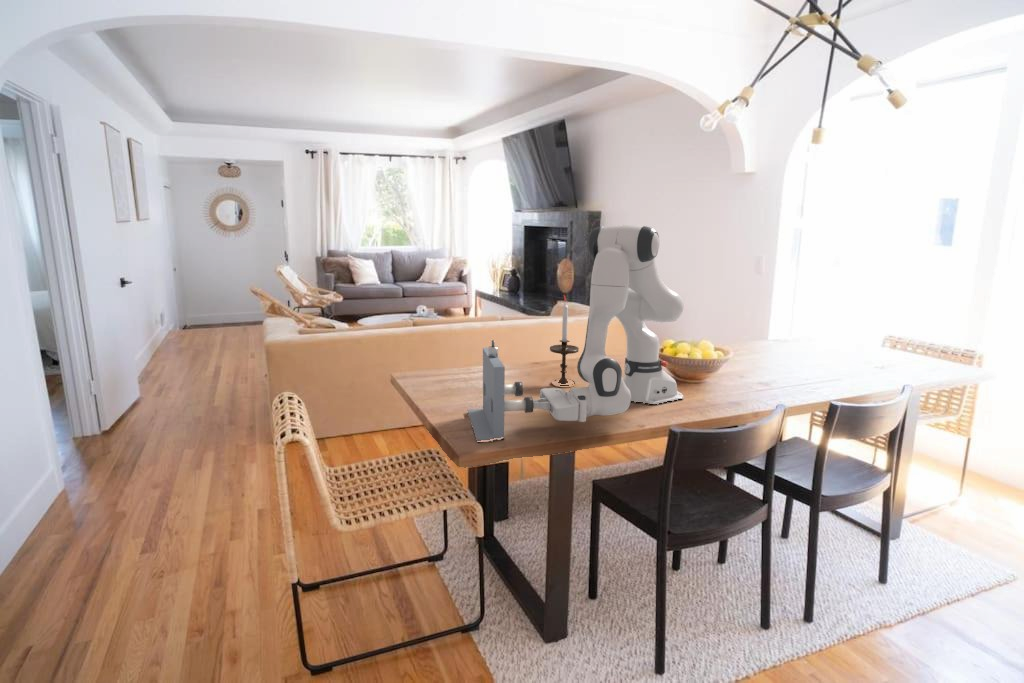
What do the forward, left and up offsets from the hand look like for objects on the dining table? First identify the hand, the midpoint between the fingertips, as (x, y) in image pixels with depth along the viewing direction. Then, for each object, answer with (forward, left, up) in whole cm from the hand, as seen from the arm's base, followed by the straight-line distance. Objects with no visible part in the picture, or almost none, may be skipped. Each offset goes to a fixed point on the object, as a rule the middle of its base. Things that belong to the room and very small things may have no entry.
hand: (532, 404), depth 173 cm
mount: (+12, -10, -9) cm, 18 cm away
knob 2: (+5, -1, -2) cm, 6 cm away
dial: (+9, -10, +13) cm, 18 cm away
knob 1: (+3, -17, -2) cm, 17 cm away
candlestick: (-29, -44, -9) cm, 54 cm away
